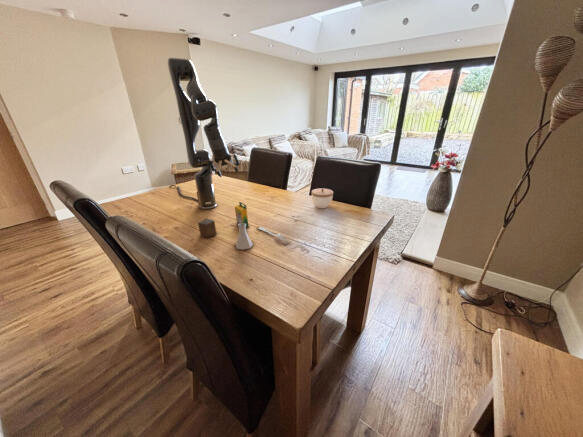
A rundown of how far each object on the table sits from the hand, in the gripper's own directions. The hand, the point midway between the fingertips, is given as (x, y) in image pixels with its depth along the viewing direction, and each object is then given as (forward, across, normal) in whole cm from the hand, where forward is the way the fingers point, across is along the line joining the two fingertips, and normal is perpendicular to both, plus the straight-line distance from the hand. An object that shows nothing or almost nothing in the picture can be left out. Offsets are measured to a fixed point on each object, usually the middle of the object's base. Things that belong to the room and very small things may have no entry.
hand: (228, 174), depth 124 cm
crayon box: (+17, -1, +24) cm, 29 cm away
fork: (+16, -15, +37) cm, 43 cm away
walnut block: (+12, +14, +29) cm, 35 cm away
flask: (+12, -2, +43) cm, 44 cm away
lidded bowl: (+30, -47, +9) cm, 56 cm away
